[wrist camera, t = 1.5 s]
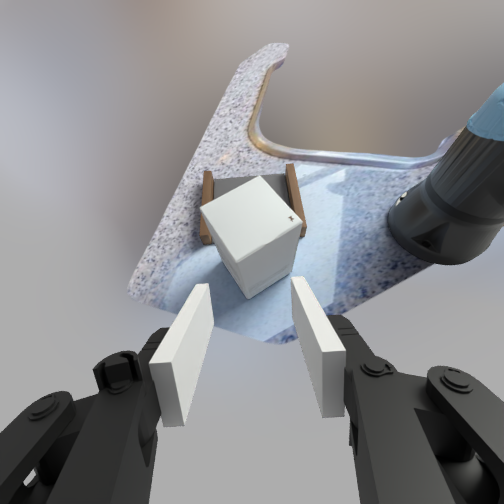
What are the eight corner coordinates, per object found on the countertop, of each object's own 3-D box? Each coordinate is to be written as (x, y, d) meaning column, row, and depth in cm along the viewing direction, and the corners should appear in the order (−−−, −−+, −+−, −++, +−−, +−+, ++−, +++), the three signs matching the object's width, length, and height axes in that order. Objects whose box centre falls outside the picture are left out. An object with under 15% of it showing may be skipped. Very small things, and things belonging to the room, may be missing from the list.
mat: (284, 175, 50) (284, 173, 50) (294, 237, 42) (295, 235, 42) (215, 181, 51) (214, 179, 50) (213, 243, 43) (212, 242, 42)
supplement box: (263, 233, 42) (261, 171, 29) (293, 271, 39) (306, 221, 25) (219, 259, 41) (196, 205, 27) (246, 301, 37) (235, 263, 24)
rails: (292, 174, 50) (293, 163, 48) (304, 236, 42) (306, 226, 40) (207, 182, 51) (203, 171, 48) (203, 244, 43) (199, 235, 40)
